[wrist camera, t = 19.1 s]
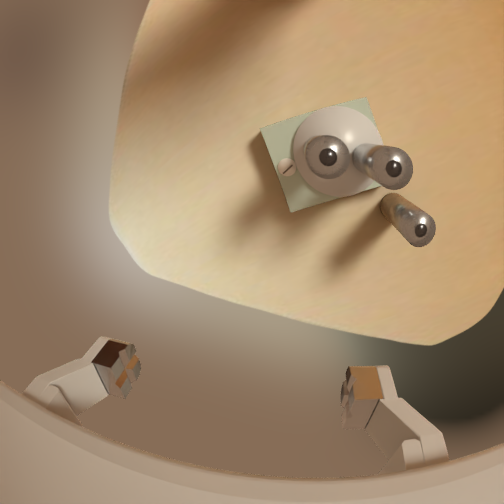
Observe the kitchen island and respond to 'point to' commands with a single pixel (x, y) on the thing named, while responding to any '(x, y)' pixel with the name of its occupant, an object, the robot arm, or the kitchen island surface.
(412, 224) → the cylinder
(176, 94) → the kitchen island surface
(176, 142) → the kitchen island surface
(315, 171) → the cylinder
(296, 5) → the kitchen island surface
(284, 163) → the scale
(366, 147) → the cylinder
